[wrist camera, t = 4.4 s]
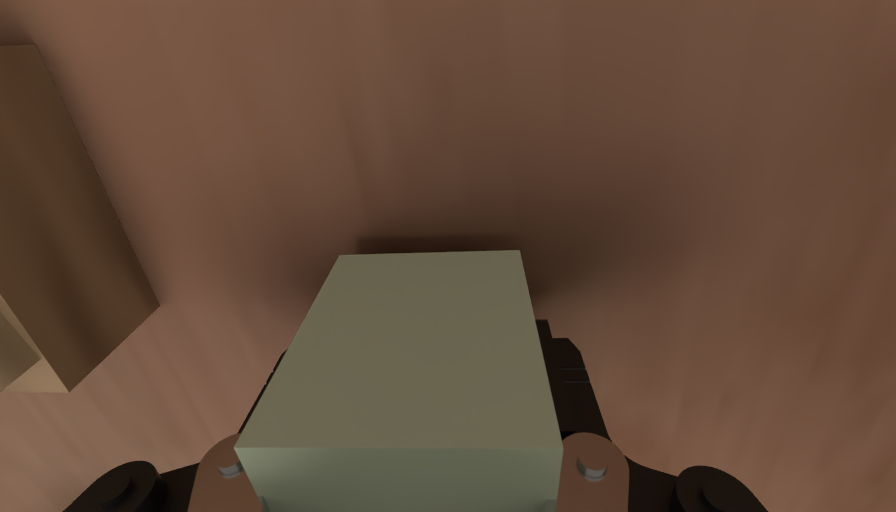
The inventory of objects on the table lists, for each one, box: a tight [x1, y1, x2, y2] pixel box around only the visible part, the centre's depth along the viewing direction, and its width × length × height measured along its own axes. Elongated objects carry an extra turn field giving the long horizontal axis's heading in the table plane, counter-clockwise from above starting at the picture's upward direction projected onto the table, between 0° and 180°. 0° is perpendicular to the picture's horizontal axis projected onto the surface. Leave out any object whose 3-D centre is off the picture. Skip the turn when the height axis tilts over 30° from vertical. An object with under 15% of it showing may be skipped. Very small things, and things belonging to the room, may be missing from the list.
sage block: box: [234, 250, 563, 512], centre depth 10 cm, size 5×5×6 cm
